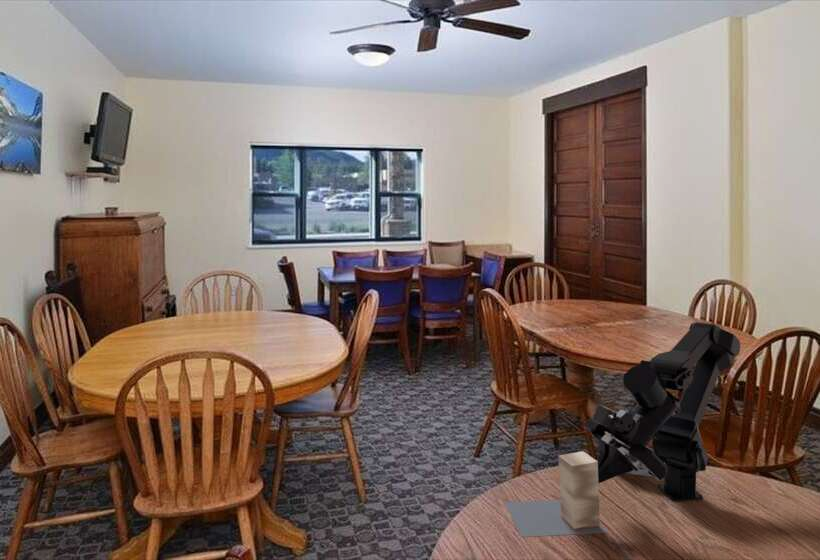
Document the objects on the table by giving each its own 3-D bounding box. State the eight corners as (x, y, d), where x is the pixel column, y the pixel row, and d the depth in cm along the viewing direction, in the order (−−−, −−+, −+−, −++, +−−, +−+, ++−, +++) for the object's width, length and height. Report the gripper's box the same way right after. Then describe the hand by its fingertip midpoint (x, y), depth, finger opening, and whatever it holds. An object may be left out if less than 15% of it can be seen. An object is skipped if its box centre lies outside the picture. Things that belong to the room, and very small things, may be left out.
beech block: (585, 512, 112) (583, 451, 111) (599, 525, 107) (597, 461, 106) (561, 517, 111) (558, 455, 110) (574, 530, 106) (572, 466, 105)
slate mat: (504, 504, 118) (504, 502, 117) (581, 500, 118) (581, 498, 118) (520, 539, 105) (520, 537, 105) (607, 534, 106) (607, 532, 106)
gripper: (593, 377, 118) (541, 437, 116) (653, 404, 100) (593, 476, 98) (627, 412, 120) (577, 471, 119) (692, 445, 102) (634, 516, 101)
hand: (593, 482), depth 109 cm, fingers closed
